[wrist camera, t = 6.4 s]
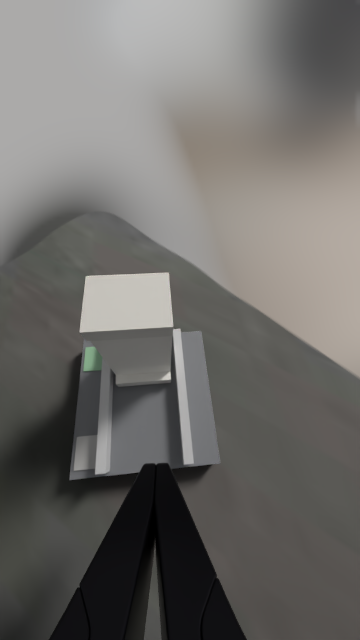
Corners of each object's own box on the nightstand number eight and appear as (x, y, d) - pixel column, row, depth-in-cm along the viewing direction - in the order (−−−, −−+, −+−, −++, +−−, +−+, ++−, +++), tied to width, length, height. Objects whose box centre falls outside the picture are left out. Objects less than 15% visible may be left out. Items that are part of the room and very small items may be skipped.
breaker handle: (170, 382, 15) (173, 334, 8) (118, 386, 14) (78, 340, 8) (167, 338, 16) (168, 266, 10) (119, 341, 16) (86, 270, 9)
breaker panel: (215, 461, 14) (224, 464, 12) (78, 476, 14) (61, 482, 11) (198, 339, 18) (203, 324, 16) (90, 346, 17) (79, 332, 15)
